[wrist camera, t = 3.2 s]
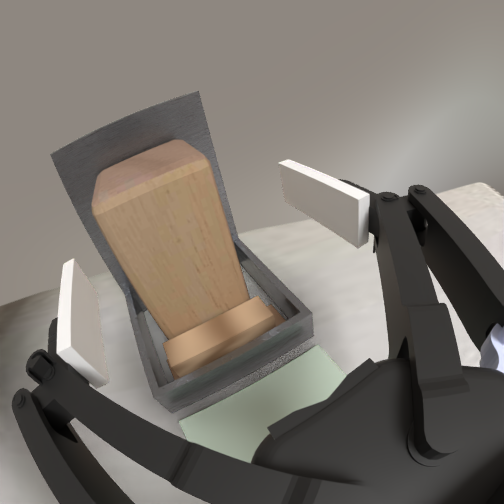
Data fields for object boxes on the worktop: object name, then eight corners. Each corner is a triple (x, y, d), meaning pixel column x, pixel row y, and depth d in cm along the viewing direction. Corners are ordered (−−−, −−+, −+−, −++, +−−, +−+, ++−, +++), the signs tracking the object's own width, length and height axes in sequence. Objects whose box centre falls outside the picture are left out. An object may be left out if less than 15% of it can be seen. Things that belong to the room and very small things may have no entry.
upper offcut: (180, 378, 26) (171, 367, 24) (171, 355, 28) (162, 343, 27) (276, 328, 29) (273, 314, 27) (261, 310, 31) (257, 295, 30)
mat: (224, 508, 16) (223, 508, 16) (181, 422, 24) (178, 421, 24) (380, 414, 21) (381, 413, 20) (318, 347, 28) (317, 344, 28)
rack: (171, 413, 25) (2, 210, 10) (137, 310, 38) (51, 153, 23) (313, 335, 29) (284, 89, 15) (242, 257, 42) (196, 91, 27)
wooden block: (227, 274, 40) (182, 134, 28) (259, 322, 32) (210, 152, 20) (162, 304, 38) (94, 172, 25) (181, 360, 30) (85, 207, 18)
